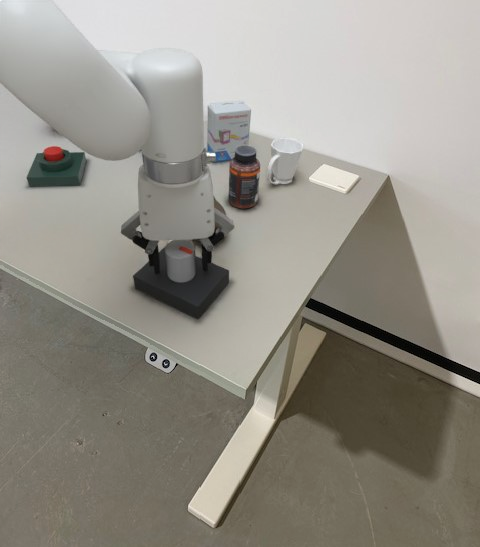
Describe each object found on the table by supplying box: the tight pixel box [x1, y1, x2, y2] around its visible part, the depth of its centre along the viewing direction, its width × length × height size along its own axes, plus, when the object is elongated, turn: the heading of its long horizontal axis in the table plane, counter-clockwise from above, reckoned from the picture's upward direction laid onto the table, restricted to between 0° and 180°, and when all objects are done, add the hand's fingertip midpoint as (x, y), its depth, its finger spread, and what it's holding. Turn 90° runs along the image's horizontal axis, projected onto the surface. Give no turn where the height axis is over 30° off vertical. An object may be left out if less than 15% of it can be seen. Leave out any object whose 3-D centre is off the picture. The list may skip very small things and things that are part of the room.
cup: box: [265, 137, 305, 185], centre depth 89 cm, size 7×10×8 cm
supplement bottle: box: [228, 145, 261, 209], centre depth 81 cm, size 6×6×11 cm
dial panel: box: [132, 245, 230, 320], centre depth 66 cm, size 12×9×3 cm
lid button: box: [43, 145, 64, 161], centre depth 87 cm, size 4×4×2 cm
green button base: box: [25, 148, 87, 188], centre depth 88 cm, size 10×10×4 cm
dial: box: [164, 239, 196, 283], centre depth 63 cm, size 4×4×5 cm
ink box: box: [206, 100, 252, 163], centre depth 95 cm, size 9×5×12 cm, turn 112°
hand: (181, 265), depth 64 cm, fingers open, 6 cm apart
